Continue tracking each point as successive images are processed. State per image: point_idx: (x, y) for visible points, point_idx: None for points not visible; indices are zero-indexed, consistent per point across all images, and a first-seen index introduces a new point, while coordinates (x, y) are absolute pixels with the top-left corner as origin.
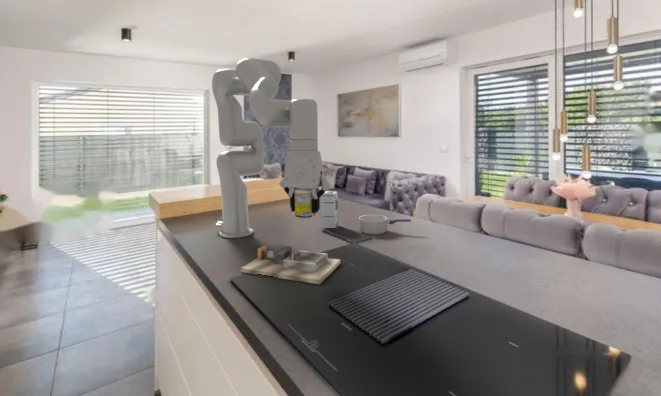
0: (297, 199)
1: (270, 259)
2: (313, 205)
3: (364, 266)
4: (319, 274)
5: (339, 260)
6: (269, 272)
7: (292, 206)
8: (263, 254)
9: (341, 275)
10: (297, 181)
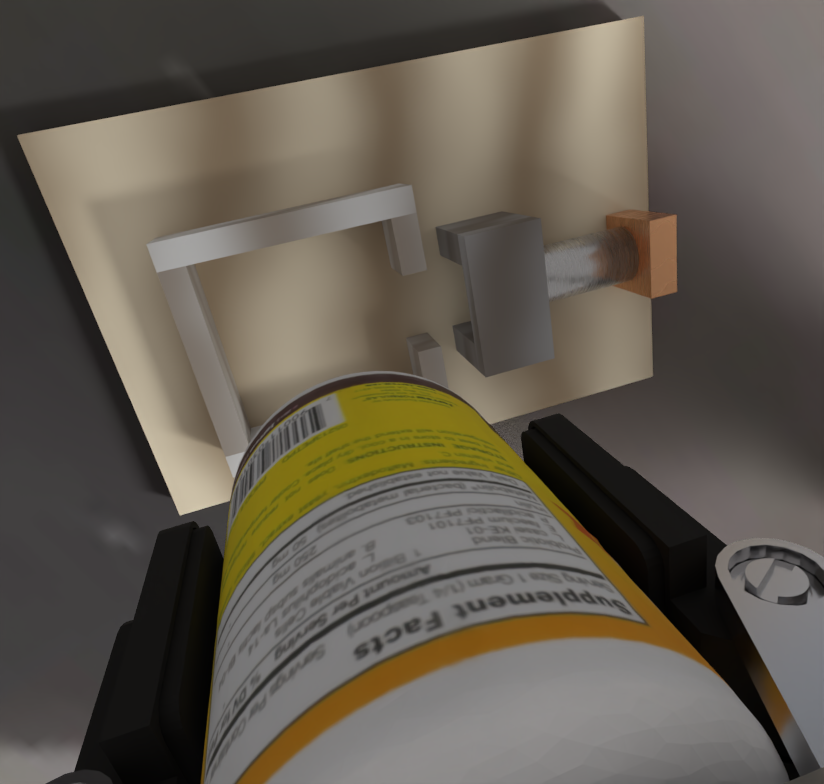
0: (491, 521)
1: None
2: (141, 618)
3: (22, 553)
4: (98, 224)
5: (175, 502)
6: (425, 58)
7: (573, 451)
8: (616, 231)
9: (29, 354)
10: None
